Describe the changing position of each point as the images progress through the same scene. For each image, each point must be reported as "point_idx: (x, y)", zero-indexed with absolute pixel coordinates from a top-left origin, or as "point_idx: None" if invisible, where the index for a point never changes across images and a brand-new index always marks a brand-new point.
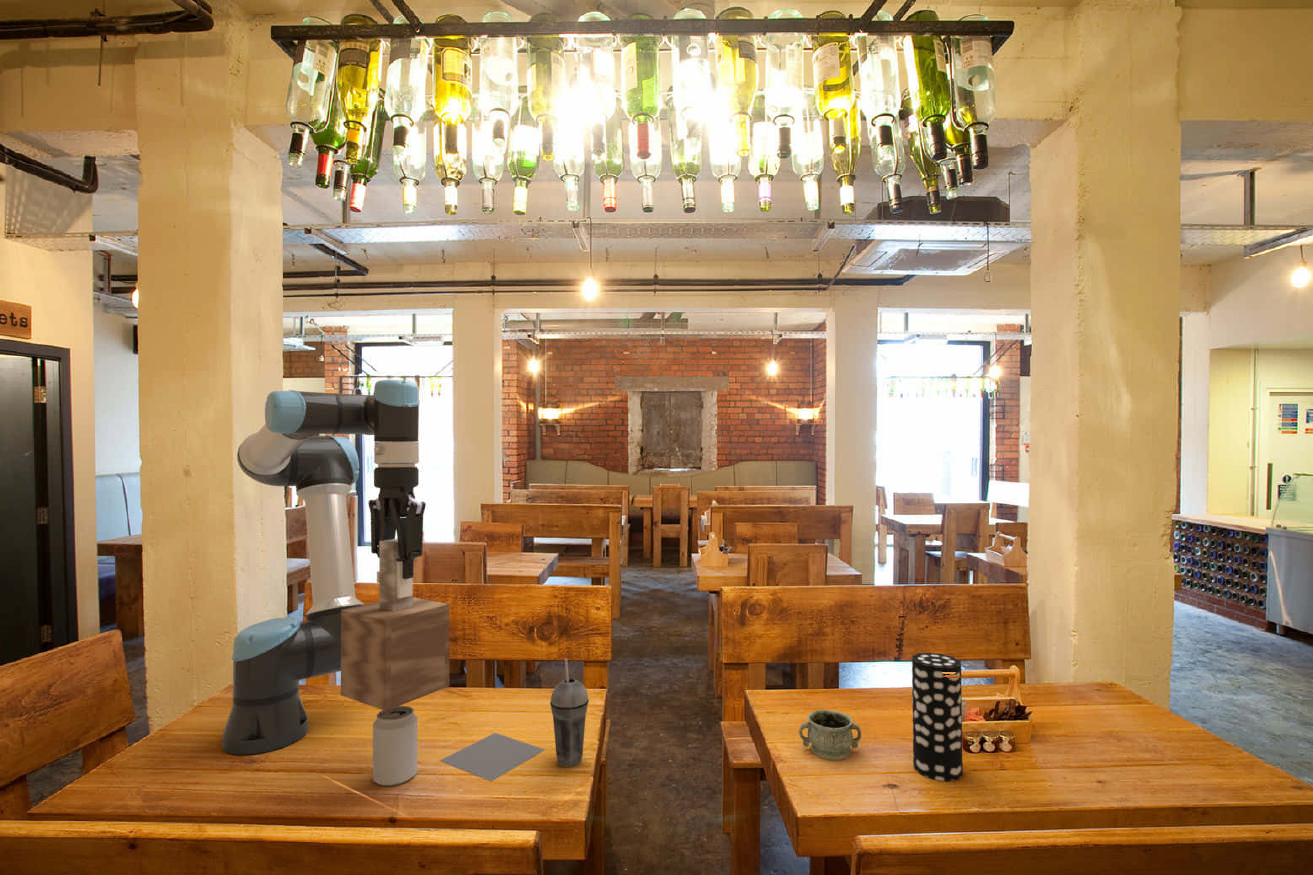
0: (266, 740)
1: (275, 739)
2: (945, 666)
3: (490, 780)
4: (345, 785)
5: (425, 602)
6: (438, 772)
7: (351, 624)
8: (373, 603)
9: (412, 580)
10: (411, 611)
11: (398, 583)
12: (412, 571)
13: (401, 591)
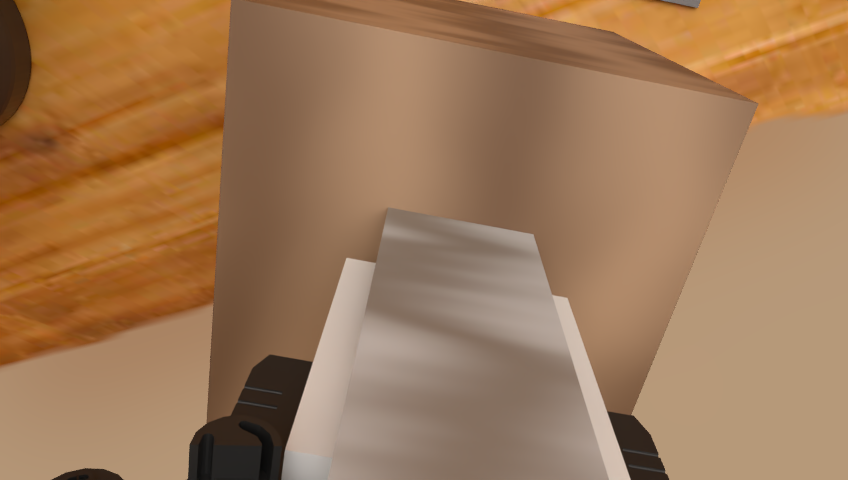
0: (3, 104)
1: (13, 86)
2: None
3: (694, 6)
4: None
5: (551, 124)
6: (526, 11)
7: None
8: (232, 261)
9: (561, 328)
10: (616, 333)
11: None
12: (655, 465)
13: None
